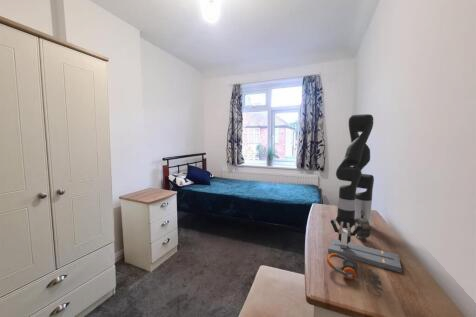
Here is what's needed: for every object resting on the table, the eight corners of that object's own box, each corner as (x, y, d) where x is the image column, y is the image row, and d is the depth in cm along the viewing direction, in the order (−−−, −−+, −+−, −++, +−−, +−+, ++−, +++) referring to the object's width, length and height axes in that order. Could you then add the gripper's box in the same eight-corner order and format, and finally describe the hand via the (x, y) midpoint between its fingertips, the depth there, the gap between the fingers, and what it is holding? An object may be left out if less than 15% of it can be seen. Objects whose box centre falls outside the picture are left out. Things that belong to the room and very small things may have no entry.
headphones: (386, 293, 70) (325, 261, 80) (380, 305, 71) (321, 272, 81) (384, 268, 84) (332, 243, 94) (379, 279, 85) (329, 253, 95)
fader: (341, 242, 104) (342, 229, 104) (347, 244, 103) (348, 230, 102) (340, 247, 100) (340, 232, 99) (347, 248, 98) (347, 234, 98)
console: (331, 242, 110) (331, 238, 110) (397, 258, 95) (397, 254, 95) (327, 252, 100) (328, 248, 100) (401, 272, 85) (401, 267, 85)
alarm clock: (370, 243, 109) (372, 213, 108) (358, 242, 110) (360, 212, 109) (362, 234, 120) (363, 207, 118) (351, 233, 121) (353, 206, 119)
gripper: (363, 208, 99) (360, 242, 101) (331, 203, 107) (330, 235, 108) (363, 212, 93) (360, 249, 94) (329, 206, 100) (327, 241, 102)
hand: (344, 241), depth 101 cm, fingers closed on fader, 2 cm apart
